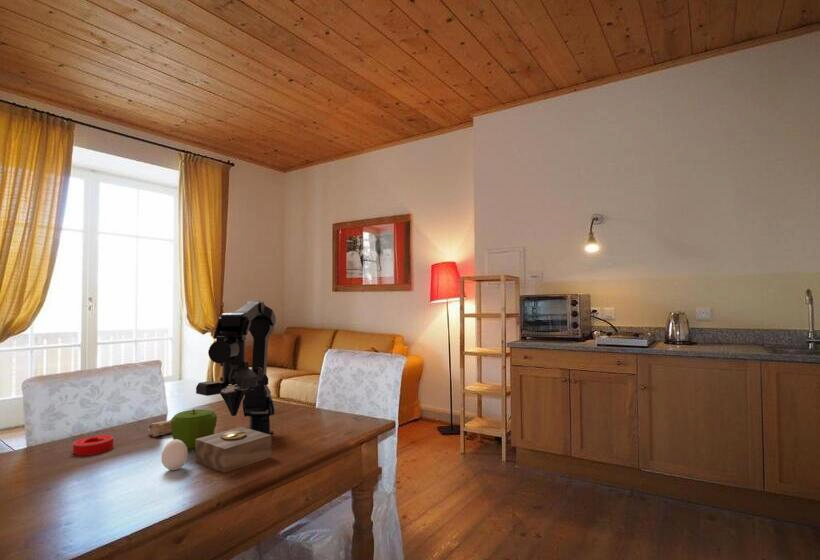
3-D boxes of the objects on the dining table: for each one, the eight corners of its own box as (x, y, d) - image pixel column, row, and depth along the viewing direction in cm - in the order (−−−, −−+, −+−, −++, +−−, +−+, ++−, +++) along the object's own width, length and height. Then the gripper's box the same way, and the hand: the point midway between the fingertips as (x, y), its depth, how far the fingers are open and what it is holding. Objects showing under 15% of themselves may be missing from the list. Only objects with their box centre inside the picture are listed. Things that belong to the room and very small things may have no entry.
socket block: (195, 461, 122) (195, 439, 122) (241, 447, 133) (241, 426, 133) (224, 473, 113) (224, 448, 113) (271, 456, 124) (271, 434, 125)
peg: (217, 458, 122) (217, 435, 123) (237, 452, 127) (237, 429, 127) (229, 463, 119) (230, 438, 119) (249, 456, 124) (249, 433, 124)
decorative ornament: (64, 456, 128) (64, 444, 128) (89, 445, 138) (90, 434, 138) (97, 456, 128) (97, 444, 128) (120, 445, 137) (120, 434, 137)
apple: (223, 446, 134) (223, 408, 134) (180, 457, 125) (180, 416, 125) (205, 438, 142) (206, 402, 143) (164, 447, 133) (164, 409, 134)
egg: (183, 463, 120) (183, 434, 121) (191, 469, 116) (191, 439, 116) (158, 469, 116) (158, 439, 116) (165, 476, 112) (165, 445, 112)
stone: (146, 434, 148) (146, 420, 148) (180, 427, 155) (180, 414, 155) (152, 440, 142) (152, 425, 142) (188, 433, 149) (188, 419, 149)
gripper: (218, 364, 112) (218, 428, 111) (280, 356, 127) (280, 412, 126) (195, 361, 118) (194, 421, 118) (256, 354, 133) (256, 407, 133)
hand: (233, 415), depth 123 cm, fingers closed
